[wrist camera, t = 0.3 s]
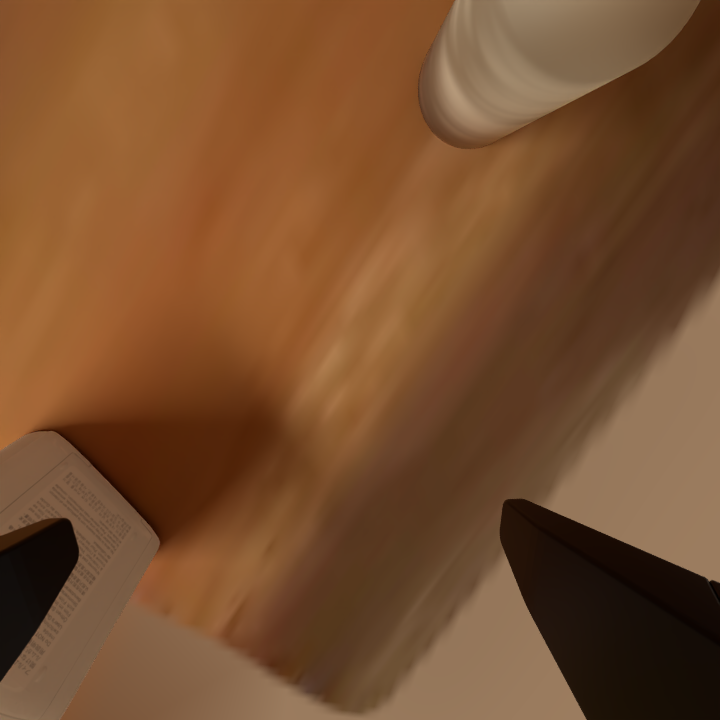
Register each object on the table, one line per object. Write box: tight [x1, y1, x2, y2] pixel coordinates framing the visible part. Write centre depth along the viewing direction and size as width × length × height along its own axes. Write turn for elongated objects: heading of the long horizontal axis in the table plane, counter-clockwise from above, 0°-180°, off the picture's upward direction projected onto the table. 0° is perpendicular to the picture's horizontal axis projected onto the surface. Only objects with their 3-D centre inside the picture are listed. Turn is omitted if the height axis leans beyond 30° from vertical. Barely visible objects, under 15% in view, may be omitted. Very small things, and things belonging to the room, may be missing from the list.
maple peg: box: [418, 0, 700, 149], centre depth 14 cm, size 5×5×10 cm
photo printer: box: [0, 431, 160, 720], centre depth 19 cm, size 10×4×12 cm, turn 32°
